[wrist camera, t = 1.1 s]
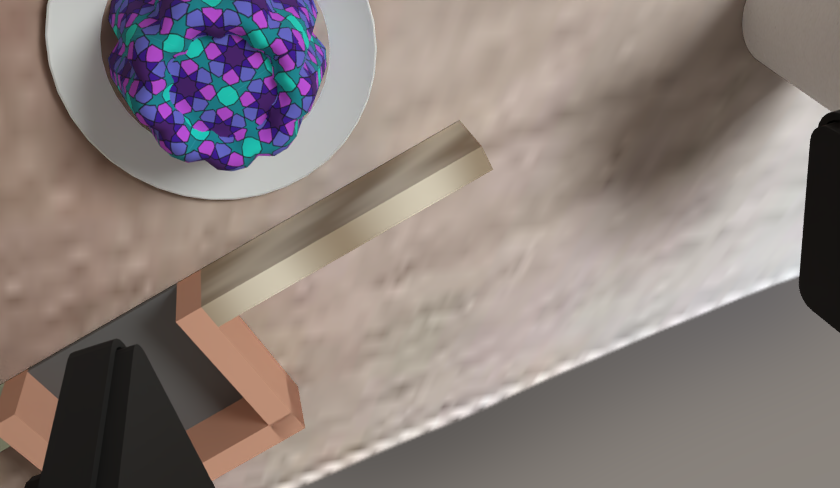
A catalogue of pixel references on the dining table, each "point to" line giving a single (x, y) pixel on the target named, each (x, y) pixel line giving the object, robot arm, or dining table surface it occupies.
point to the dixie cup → (798, 43)
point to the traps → (175, 382)
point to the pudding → (214, 87)
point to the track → (339, 223)
